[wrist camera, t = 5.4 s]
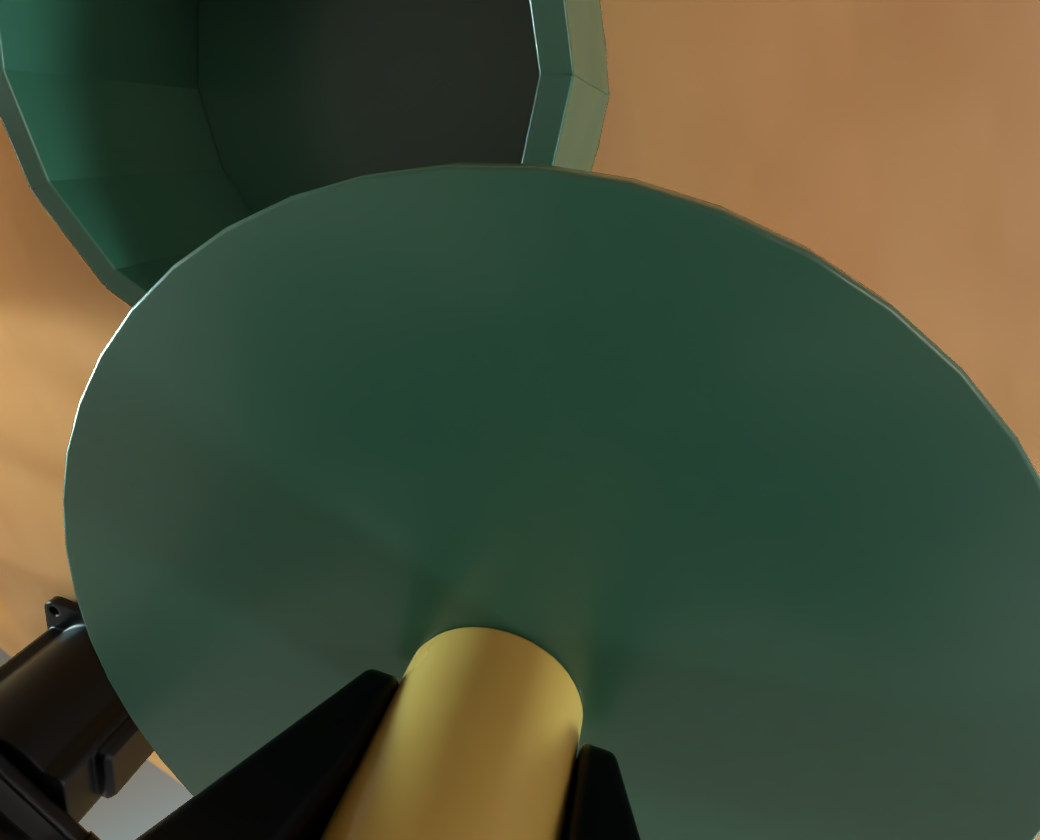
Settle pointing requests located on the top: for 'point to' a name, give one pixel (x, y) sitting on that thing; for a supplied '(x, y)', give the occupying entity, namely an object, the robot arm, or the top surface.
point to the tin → (276, 106)
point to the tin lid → (562, 519)
